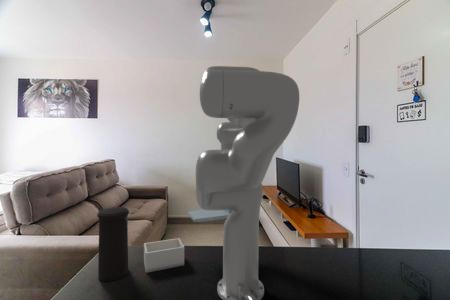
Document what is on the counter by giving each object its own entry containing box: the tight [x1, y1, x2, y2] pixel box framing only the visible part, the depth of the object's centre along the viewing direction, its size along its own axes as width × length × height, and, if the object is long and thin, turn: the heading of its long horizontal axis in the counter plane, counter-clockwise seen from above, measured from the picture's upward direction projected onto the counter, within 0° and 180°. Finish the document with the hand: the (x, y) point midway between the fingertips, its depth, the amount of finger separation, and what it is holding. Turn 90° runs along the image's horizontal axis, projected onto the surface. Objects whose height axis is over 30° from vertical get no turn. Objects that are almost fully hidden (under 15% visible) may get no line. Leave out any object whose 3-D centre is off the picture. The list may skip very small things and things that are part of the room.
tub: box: [143, 237, 185, 273], centre depth 78 cm, size 8×12×6 cm, turn 113°
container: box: [96, 206, 130, 282], centre depth 71 cm, size 9×9×20 cm
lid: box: [187, 209, 232, 223], centre depth 84 cm, size 9×16×8 cm, turn 113°
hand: (231, 208), depth 86 cm, fingers closed on lid, 3 cm apart
